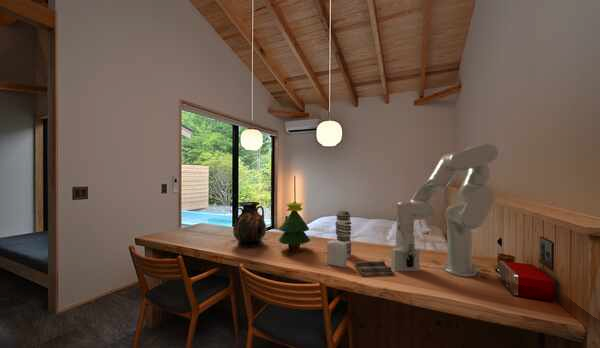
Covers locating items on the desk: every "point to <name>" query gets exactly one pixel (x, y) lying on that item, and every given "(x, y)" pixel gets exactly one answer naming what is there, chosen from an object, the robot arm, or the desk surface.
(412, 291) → the desk surface
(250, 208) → the amphora vase
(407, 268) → the pale sage cube
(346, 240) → the grey layered cylinder
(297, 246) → the decorative tree
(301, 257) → the desk surface
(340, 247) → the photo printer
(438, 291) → the desk surface
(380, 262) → the door track
